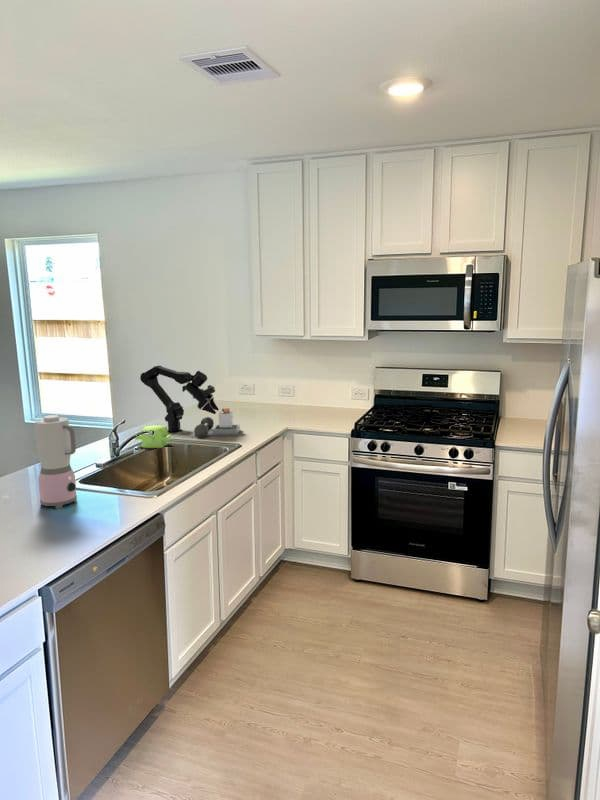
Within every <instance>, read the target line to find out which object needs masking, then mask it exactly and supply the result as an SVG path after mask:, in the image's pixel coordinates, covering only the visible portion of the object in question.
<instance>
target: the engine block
mask: <svg viewBox="0 0 600 800" xmlns="http://www.w3.org/2000/svg"><path fill="white" fill-rule="evenodd" d="M233 424H234V411H233V410H232V411H230V408H228V407H225V408H224V407H223V408H222V409H221V411H219V413H218V425H219V429H234V426H233Z"/></svg>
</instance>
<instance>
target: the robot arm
mask: <svg viewBox="0 0 600 800" xmlns="http://www.w3.org/2000/svg"><path fill="white" fill-rule="evenodd" d="M160 375H161V376H164V377H166V378H170V379H173V380H174V381H175V382H176V383H178V384H179V385H183V386H182V390H181V391H182V392H185V391H187V393H189V394H190V395H191V396H192V399H195V400H196V401H197V403H198V404H197V409H199V410H201V411H206V412H208V413H210V414H213V415H216V414H217V412H218V411H219V410H220V409H219V407H218V406H217V404H216V402H215V398H214V393H216V389H215V387H214V385H211V384H209V385H207V388H206V389H205V388H204V389H203V388H200V387H202V386H203V384H205V383H206V382H207V381H208V377H207V375H206V374H205V373H203V372H202V371H200V370H197V371H196V372H195V374H191V373H190V372H189V371H177V370H174V369H170V368H168V367H164V366H162V365H154V366H153V367H151V368H150V369H148V370H147V371H145V372H142V373H141V374H140V378H139V379H140V381H141V383H142V384H143V385H145V386H147V387H148V388H150V389H151V390H152V391H153V393H154V394H155V395H156V396H157V397H158V399H159V400H160V401H161V403H162V404H163V405H164V407H165V410H166V413H167V414H166V415H165V417H164V420H165V422H167V431H168V432H169V433H174V434H175V433H178V432H182V431H183V429H181V421H180V420H182V419H183V416H184V415H185V410H184V409H183V408H184V407H183V406H182V405H181V403H180V402H179V401H177V402H174V401H173V399H171V397H170V395H169V394H168V393H167V392H166V391H165V390H164V388H163V387H162V386H161V384H160V383H159V379H158V377H159V376H160ZM216 411H217V412H216Z"/></svg>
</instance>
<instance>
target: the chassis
mask: <svg viewBox="0 0 600 800" xmlns="http://www.w3.org/2000/svg"><path fill="white" fill-rule="evenodd" d="M214 425H215V426H214ZM233 426H234V429H219V424H215V422H214V419H213V418H212V417H210V416H205V417H203V418H202V419H201V421H200V424H197V425H196V426H195V427H194V430H193V433H194V437H196V438H199V439H203V438H206V437H238V435H239V433H240V431H241V427H240V426H241V425H240V424H234V423H233Z"/></svg>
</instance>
